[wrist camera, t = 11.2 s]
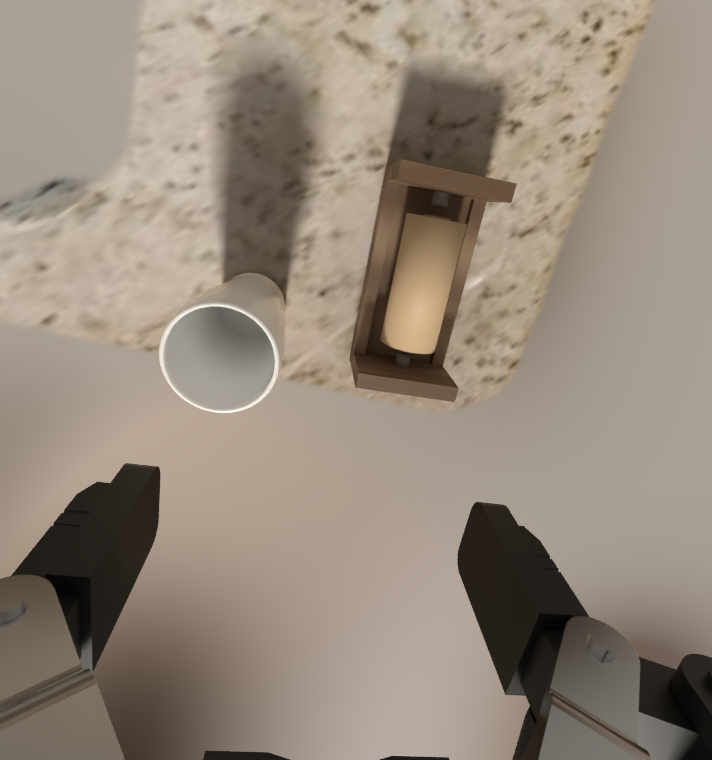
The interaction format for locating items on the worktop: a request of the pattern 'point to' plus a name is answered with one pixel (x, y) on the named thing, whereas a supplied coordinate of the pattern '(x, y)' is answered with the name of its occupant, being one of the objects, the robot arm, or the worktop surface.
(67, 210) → the worktop surface
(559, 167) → the worktop surface
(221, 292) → the drinking glass
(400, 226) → the holder
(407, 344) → the roll
